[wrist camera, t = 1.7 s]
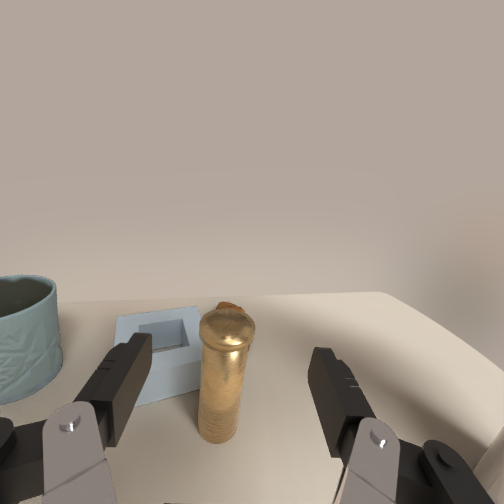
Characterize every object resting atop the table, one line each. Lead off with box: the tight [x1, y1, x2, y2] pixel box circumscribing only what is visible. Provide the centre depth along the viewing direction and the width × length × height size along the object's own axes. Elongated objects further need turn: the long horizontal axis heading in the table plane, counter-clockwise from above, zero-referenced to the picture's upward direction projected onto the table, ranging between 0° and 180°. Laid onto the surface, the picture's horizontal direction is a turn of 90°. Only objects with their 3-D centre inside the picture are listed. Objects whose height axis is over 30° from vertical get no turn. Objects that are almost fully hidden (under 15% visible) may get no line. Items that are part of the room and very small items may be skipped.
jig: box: [114, 306, 202, 408], centre depth 35 cm, size 12×12×5 cm
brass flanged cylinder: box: [198, 308, 255, 444], centre depth 26 cm, size 5×5×14 cm
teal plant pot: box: [0, 275, 62, 405], centre depth 29 cm, size 10×10×12 cm
